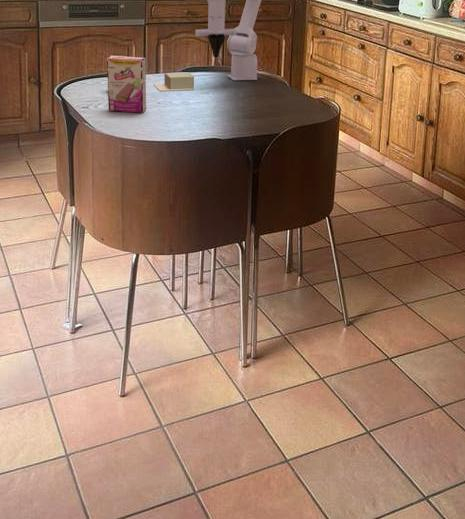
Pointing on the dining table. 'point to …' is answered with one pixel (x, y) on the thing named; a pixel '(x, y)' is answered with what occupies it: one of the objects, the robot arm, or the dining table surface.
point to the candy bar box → (126, 84)
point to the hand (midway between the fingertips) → (215, 56)
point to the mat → (163, 88)
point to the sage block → (178, 80)
